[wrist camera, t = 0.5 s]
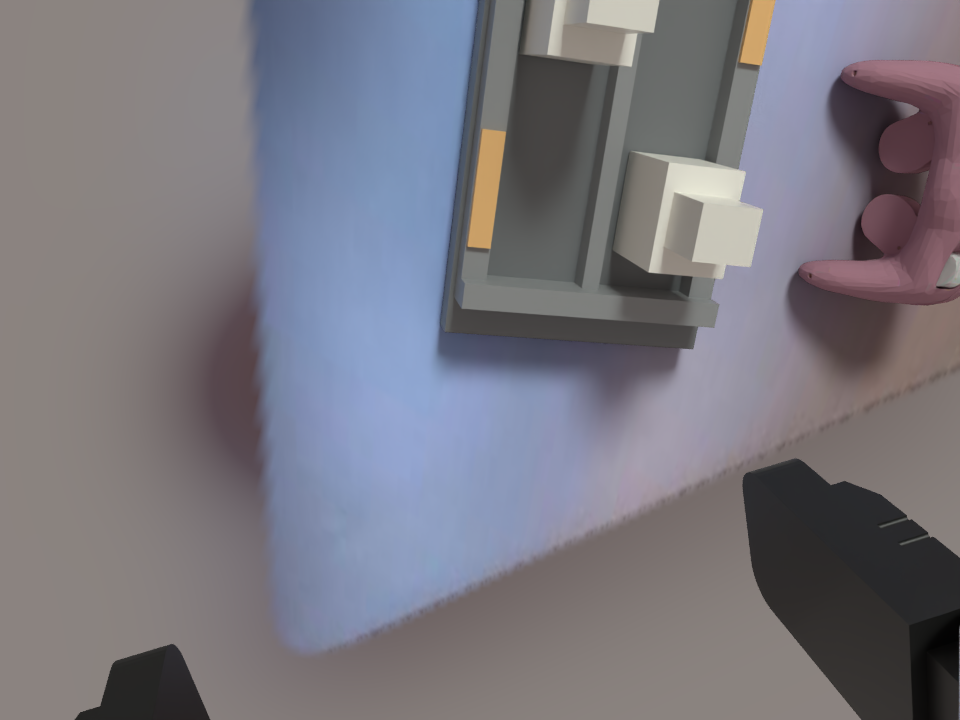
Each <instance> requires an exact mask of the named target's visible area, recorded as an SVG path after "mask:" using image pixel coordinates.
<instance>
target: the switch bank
mask: <svg viewBox="0 0 960 720" xmlns="http://www.w3.org/2000/svg"><path fill="white" fill-rule="evenodd" d="M774 5H775V0H659V6H658V11H657V17H656V23H655V28H654V33H638V34H637V39H636V45H635V50H634V56H633V62H632V67H627V66H608V65H593V64H586V63H579V62H572V61H565V60H558V59H551V58H544V57H537V56H530V55H523V54H519V50H520V43H521V35H522V28H523V20H524V13H525V6H526V0H479V5H478V13H477V22H476V30H475V38H474V46H473V55H472V63H471V71H470V80H469V88H468V96H467V105H466V113H465V121H464V129H463V138H462V146H461V154H460V163H459V171H458V179H457V188H456V196H455V204H454V212H453V221H452V229H451V237H450V246H449V254H448V262H447V271H446V279H445V287H444V295H443V304H442V312H441V320H440V324H441V326H442V328H443V330H444V332H452V333H467V334H481V335H496V336H510V337H525V338H539V339H553V340H568V341H582V342H597V343H611V344H626V345H640V346H654V347H669V348H683V349H693V348H694V343H695V338H696V333H697V329H698V327H712V328H714V326H715V321H716V317H717V312H718V307H719V304H718V303H716V302H715V301H713V300H711V295H712V291H713V286H714V281H715V278H705V277H693V276H682V275H671V274H660V273H649V272H647V271H645V270H644V269H642V268H640V267H639V266H637V265H636V264H634V263H632V262H631V261H629V260H628V259H626V258H624V257H623V256H621V255H620V254H618V253H616V252H615V251H613V244H614V239H615V233H616V227H617V221H618V216H619V210H620V204H621V199H622V193H623V187H624V182H625V176H626V170H627V164H628V159H629V153H630V151H636V152H644V153H653V154H661V155H669V156H678V157H686V158H694V159H701V160H704V161H708V162H712V163H716V164H719V165H723V166H727V167H730V168H734V169H738V168H739V163H740V159H741V154H742V149H743V144H744V140H745V135H746V130H747V126H748V121H749V116H750V111H751V107H752V102H753V97H754V93H755V88H756V83H757V78H758V74H759V69H760V65H762V61H763V56H764V52H765V47H766V42H767V38H768V33H769V28H770V23H771V19H772V14H773V9H774Z"/></svg>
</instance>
